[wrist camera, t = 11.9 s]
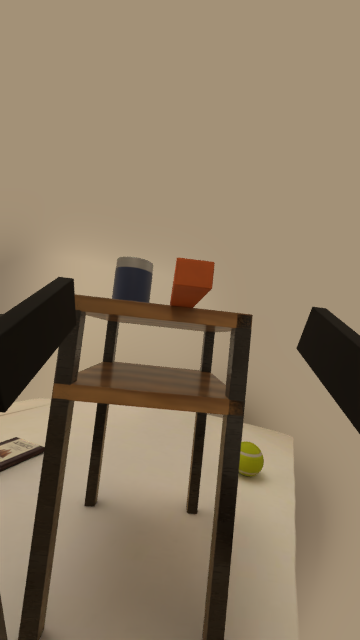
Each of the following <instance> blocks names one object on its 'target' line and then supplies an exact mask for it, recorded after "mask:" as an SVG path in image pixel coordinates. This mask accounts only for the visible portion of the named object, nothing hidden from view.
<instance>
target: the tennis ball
mask: <svg viewBox="0 0 360 640" xmlns="http://www.w3.org/2000/svg"><path fill="white" fill-rule="evenodd" d="M263 463H264V459H263V455H262V453H261V450H260V449H259V448H258V447H257V446H256V445H255V444H253V443H251V442H241V452H240V463H239V473H241V474H242V475H244V476H255V475H257V474H258V473H259V472H260V471H261V470H262V467H263Z"/></svg>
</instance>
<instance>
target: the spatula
mask: <svg viewBox="0 0 360 640" xmlns="http://www.w3.org/2000/svg"><path fill="white" fill-rule="evenodd" d="M213 273H214V262H209V261H201V260H193V259H185V258H177V261H176V268H175V274H174V281H173V288H172V294H171V301H170V305H171V306H180V307H189V308H193V307H194V306H195V305H196V304H197V303H198V302H199V301H200V300H201V299H202V298H203V297H204V296H205V295H206V294H207V293H208V292H209V291H210V290H211V289H212V284H213Z"/></svg>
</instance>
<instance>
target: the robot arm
mask: <svg viewBox="0 0 360 640" xmlns="http://www.w3.org/2000/svg"><path fill="white" fill-rule="evenodd" d="M76 324H77V323H76V308H75V294H74V279H72V278H63V277H58V278H57V279H55V280H54V281H52V282H51V283H49V284H48V285H46V286H45V287H43V288H42V289H40V290H39V291H37V292H36V293H34V294H33V295H31V296H30V297H28V298H27V299H25V300H24V301H22V302H21V303H19V304H18V305H17V306H15V307H14V308H12V309H11V310H9V311H8V312H6V313H5V314H0V412H6V411H7V410H8V408H9V407H10V406H11V405H12V403H13V402H14V401H15V400H16V398H17V397H18V396H19V395H20V394H21V392H22V391H23V390H24V389H25V387H26V386H27V385H28V384H29V382H30V381H31V380H32V379H33V377H34V376H35V375H36V374H37V373H38V371H39V370H40V369H41V368H42V366H43V365H44V364H45V363H46V361H47V360H48V359H49V358H50V356H51V355H52V354H53V353H54V351H55V350H56V349H57V348H58V347H59V345H60V344H61V343H62V342H63V340H64V339H65V338H66V337H67V336H68V334H69V333H70V332H71V331H72V329H73V328H74V327H75V326H76ZM297 350H298V351H299V353H300V354H301V355H302V357H303V358H304V359H305V361H306V362H307V363H308V365H309V366H310V367H311V369H312V370H313V371H314V373H315V374H316V375H317V377H318V378H319V380H320V381H321V382H322V384H323V385H324V386H325V388H326V389H327V390H328V392H329V393H330V395H331V396H332V397H333V398H334V400H335V401H336V403H337V404H338V405H339V407H340V408H341V409H342V411H343V412H344V413H345V415H346V416H347V418H348V419H349V420H350V421H351V423H352V424H353V426H354V427H355V428H356V430H357V431H358V432H359V434H360V335H358V334H357V333H356V332H355V331H353V330H352V329H351V328H350V327H348V326H347V325H346V324H345V323H343V322H342V321H341V320H340V319H338V318H337V317H336V316H335V315H333V314H332V313H331V312H330V311H328V310H327V309H326V308H318V307H312V310H311V312H310V315H309V317H308V320H307V322H306V325H305V328H304V330H303V333H302V335H301V338H300V341H299V343H298V346H297ZM0 640H7V634H6V628H5V621H4V615H3V608H2V602H1V596H0Z"/></svg>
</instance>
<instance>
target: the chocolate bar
mask: <svg viewBox="0 0 360 640" xmlns="http://www.w3.org/2000/svg"><path fill="white" fill-rule="evenodd" d="M44 449H45V447H42V446H40V445H37V444H34V443H31V442H28V441H26V440H23V439H20V438H17V437H16V438H13V439H10V440H7V441H4V442H1V443H0V471H2V470H4V469H6V468H8V467H11V466H13V465H15V464H18V463H20V462H22V461H24V460H27V459H29V458H31V457H33V456H36V455H38V454H40V453H43V452H44Z"/></svg>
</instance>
